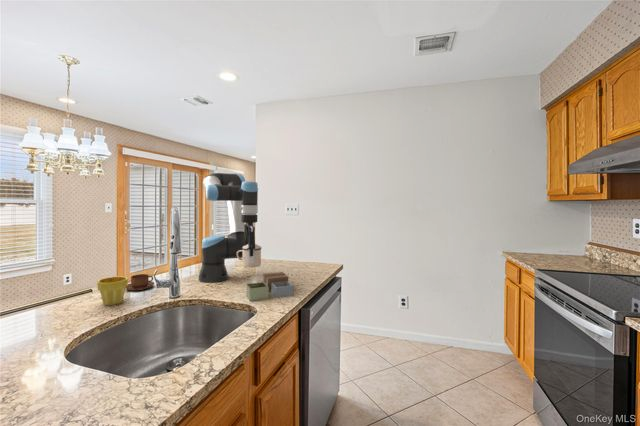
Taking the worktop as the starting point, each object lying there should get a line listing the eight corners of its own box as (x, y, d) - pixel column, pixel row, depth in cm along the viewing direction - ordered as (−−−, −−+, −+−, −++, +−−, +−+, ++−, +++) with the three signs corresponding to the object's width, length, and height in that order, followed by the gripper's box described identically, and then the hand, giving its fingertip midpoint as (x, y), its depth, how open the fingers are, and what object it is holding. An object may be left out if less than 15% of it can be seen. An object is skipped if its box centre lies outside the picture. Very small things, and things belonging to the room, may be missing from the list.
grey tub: (271, 293, 139) (271, 282, 138) (287, 291, 142) (287, 281, 142) (275, 298, 131) (275, 287, 131) (292, 296, 134) (293, 285, 134)
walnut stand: (263, 287, 148) (263, 273, 147) (282, 285, 152) (282, 271, 151) (267, 293, 138) (267, 278, 138) (288, 291, 142) (288, 276, 142)
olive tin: (246, 297, 133) (246, 283, 133) (264, 295, 136) (264, 282, 136) (249, 302, 126) (249, 288, 125) (268, 300, 129) (268, 286, 129)
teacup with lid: (263, 263, 148) (263, 240, 147) (258, 268, 139) (258, 243, 138) (239, 262, 149) (240, 239, 148) (233, 267, 140) (233, 242, 139)
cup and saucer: (140, 284, 151) (140, 272, 151) (159, 286, 148) (159, 274, 148) (118, 291, 140) (118, 278, 139) (139, 293, 137) (139, 280, 136)
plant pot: (131, 302, 124) (130, 279, 124) (101, 308, 117) (100, 284, 116) (124, 296, 131) (123, 274, 131) (95, 302, 124) (94, 279, 123)
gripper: (238, 212, 150) (237, 256, 152) (245, 215, 130) (244, 266, 132) (253, 212, 153) (252, 255, 155) (262, 215, 133) (261, 265, 135)
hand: (249, 260), depth 143 cm, fingers closed on teacup with lid, 9 cm apart
